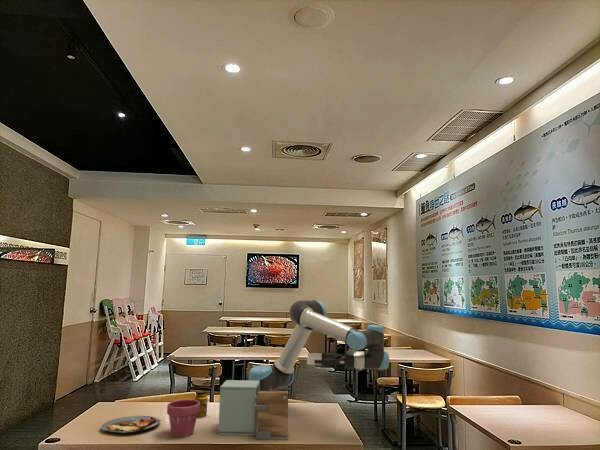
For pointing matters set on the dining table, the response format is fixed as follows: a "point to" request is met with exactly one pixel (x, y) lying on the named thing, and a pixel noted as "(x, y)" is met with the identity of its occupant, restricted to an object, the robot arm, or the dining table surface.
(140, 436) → the dining table surface
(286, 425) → the door
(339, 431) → the dining table surface
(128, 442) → the dining table surface
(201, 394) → the condiment
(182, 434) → the plant pot
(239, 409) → the cabinet
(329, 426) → the dining table surface
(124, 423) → the food plate
